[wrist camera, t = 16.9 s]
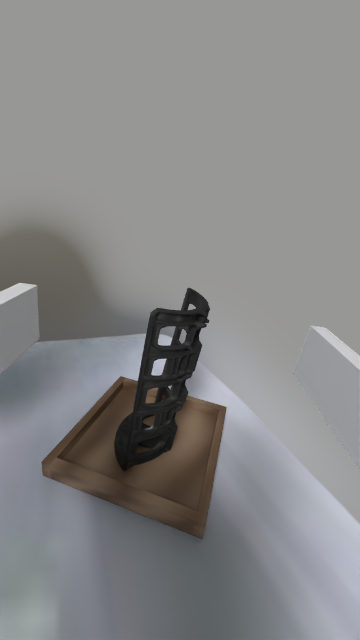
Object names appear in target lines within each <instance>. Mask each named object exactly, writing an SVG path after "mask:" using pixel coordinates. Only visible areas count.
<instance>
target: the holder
mask: <svg viewBox="0 0 360 640" xmlns="http://www.w3.org/2000/svg"><path fill="white" fill-rule="evenodd" d="M189 304H193V305H194V306H195V307H196V309H193V310H188V306H189ZM209 310H210V308H209V305H208V302H207V301H206V299H205V298H204V297H203V296H201V295H200V294H199V293H198V292H196V291H194V290H193V289H191V288H188V289H187V292H186V295H185V298H184V302H183V305H182V308H181V311H179V310H168V309H162V308H157V309H155V310H153V311H152V312H151V314H150V318H149V323H148V329H147V334H146V339H145V344H144V350H143V355H142V360H141V367H140V373H139V378H138V384H137V390H136V396H135V401H134V407H133V412H132V413H131V414H129V415H128V416H127V417H126V418H125V419H124V420H123V421H122V422H121V424H120V425H119V427H118V429H117V432H116V436H115V441H114V448H115V455H116V458H117V461H118V463H119V465H120V467H121V468H122V469H123V470H124V471H126V470H127V469H128V468H130V467H132V466H133V465H139V464H142V463H146V462H148V461H151V460H153V459H155V458H157V457H158V456H160V455H161V454H162V453H163V452H167V451H170V450H171V448H172V445H173V442H174V438H175V435H176V432H177V429H178V426H177V424H176V422H175V415H176V412H177V411H180V410H181V409H182V408H183V405H184V402H185V401H186V398H187V395H188V391H187V388H186V386H185V381H186V379H188V378H191V376H192V373H193V371H194V370H195V367H196V364H197V361H198V357H199V354H200V351H201V347H202V344H201V342H200V341H199V333H200V330H201V328H204V327H206V324H205V323H209V320H208V319H207V317H208V313H209ZM167 326H176V328H175V332H174V336H173V339H172V342H171V346H161V345H158V337H159V332H160V329H161V328H164V327H167ZM182 329H184V330H185V331H186V333H187V335H186V340H185V342H184V343H183V344H181V343H180V341H179V337H180V334H181V331H182ZM158 359H166V363H165V366H164V370H163V373H162V375H160V376H153V375H151V372H152V368H153V363H154V361H155V360H158ZM171 385H172V387H171V390H170V389H169V388H168V386H171ZM153 388H158V391H157V395H156V399H155V402H154V403H146V402H145V401H146V396H147V392H148V390H150V389H153ZM163 395H164V396H165V397H166V398H167V399H166V400H163V401H161V400H162V397H163ZM154 414H156V416H155V420H154V424H153V426H149V425H147V424H144V423H143V422H142V421H143V419H145V418H147V417H149V416H152V415H154ZM138 445H141V446H144V447H147V448H150V449H149V450H147V451H143V452H140V453H136V452H137V447H138Z"/></svg>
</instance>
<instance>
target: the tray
mask: <svg viewBox="0 0 360 640" xmlns="http://www.w3.org/2000/svg"><path fill="white" fill-rule="evenodd" d="M137 384H138V381H135V380H132V379H128V378H125V377H120V378H119V379H118V380H117V381H116V382H115V383H114V384H113V385H112V386H111V387H110V388H109V390H108V391H107V392H106V393H105V394H104V395H103V396H102V397H101V398H100V399H99V400H98V402H97V403H96V404H95V405H94V406H93V407H92V408H91V409H90V410H89V411H88V412H87V413H86V415H85V416H84V417H83V418H82V419H81V420H80V421H79V422H78V423H77V424H76V425H75V427H74V428H73V429H72V430H71V431H70V432H69V433H68V434H67V435H66V436H65V437H64V438H63V440H62V441H61V442H60V443H59V444H58V445H57V446H56V447H55V448H54V449H53V450H52V452H51V453H50V454H49V455H48V456H47V457H46V458H45V459H44V460H43V461H42V470H43V475H44V476H46V477H49V478H51V479H54V480H56V481H59V482H61V483H64V484H66V485H69V486H71V487H74V488H76V489H79V490H81V491H84V492H86V493H89V494H91V495H94V496H96V497H99V498H101V499H104V500H106V501H109V502H111V503H114V504H116V505H119V506H121V507H124V508H126V509H129V510H131V511H134V512H136V513H139V514H141V515H144V516H146V517H149V518H151V519H154V520H157V521H159V522H162V523H164V524H167V525H169V526H172V527H174V528H177V529H179V530H182V531H184V532H187V533H189V534H192V535H194V536H197V537H199V538H202V536H203V533H204V529H205V525H206V520H207V514H208V508H209V503H210V497H211V492H212V486H213V480H214V475H215V469H216V463H217V458H218V452H219V447H220V441H221V435H222V430H223V424H224V419H225V413H226V407H224V406H221V405H218V404H214V403H211V402H207V401H204V400H200V399H197V398H193V397H190V396H187V398H186V401H185V402H184V405H183V408H182V409H181V410H180V411H177V412H176V415H175V422H176V424H177V426H178V429H177V432H176V435H175V438H174V442H173V445H172V448H171V450H170V451H167V452H163V453H162V454H161V455H160V456H158V457H157V458H155V459H153V460H151V461H148V462H146V463H142V464H139V465H133V466H132V467H130V468H128V469H127V470H126V471H124V470H123V469H122V468H121V467H120V465H119V463H118V461H117V458H116V455H115V448H114V441H115V436H116V432H117V429H118V427H119V425H120V424H121V422H122V421H123V420H124V419H125V418H126V417H127V416H128V415H129V414H131V413H132V412H133V407H134V401H135V396H136V390H137ZM157 391H158V388H153V389H150V390H148V392H147V396H146V401H145V402H146V403H154V402H155V399H156V395H157ZM166 399H167V398H166V397H165V396H164V395H163V397H162V400H161V401H163V400H166ZM155 416H156V414H154V415H152V416H149V417H147V418H145V419H143V421H142V422H143V423H144V424H147V425H149V426H153V424H154V420H155ZM149 449H150V448H147V447H144V446H141V445H138V447H137V452H136V453H140V452H143V451H147V450H149Z"/></svg>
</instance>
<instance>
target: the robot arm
mask: <svg viewBox="0 0 360 640" xmlns="http://www.w3.org/2000/svg"><path fill="white" fill-rule="evenodd" d="M38 339H39V320H38V302H37V285H31V284H23V283H18V284H16V285H14V286H12V287H10V288H8V289H6V290H4V291H1V292H0V374H1V373H2V372H3V371H5V370H6V369H7V368H8V367H9V366H10V365H11V364H12V363H13V362H14V361H15V360H17V359H18V358H19V357H20V356H21V355H22V354H23V353H24V352H25V351H26V350H27V349H29V348H30V347H31V346H32V345H33V344H34V343H35V342H36V341H37V340H38ZM293 374H294V375H295V377H296V378H297V380H298V381H299V383H300V384H301V386H302V387H303V389H304V390H305V391H306V393H307V394H308V396H309V397H310V399H311V400H312V402H313V403H314V405H315V406H316V407H317V409H318V411H319V412H320V414H321V415H322V417H323V418H324V419H325V421H326V422H327V424H328V425H329V427H330V428H331V430H332V431H333V433H334V434H335V436H336V437H337V439H338V440H339V442H340V443H341V444H342V446H343V447H344V449H345V450H346V452H347V453H348V455H349V456H350V458H351V459H352V460H353V462H354V463H355V465H356V466H357V468H358V469H359V471H360V356H359V355H358V354H357V353H355V352H354V351H353V350H352V349H351V348H349V347H348V346H347V345H346V344H344V343H343V342H342V341H341V340H340V339H338V338H337V337H336V336H335V335H334V334H332V333H331V332H330V331H329V330H327V329H326V328H323V327H316V326H310V329H309V331H308V334H307V336H306V339H305V342H304V344H303V347H302V350H301V352H300V355H299V358H298V360H297V363H296V366H295V369H294V371H293Z"/></svg>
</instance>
